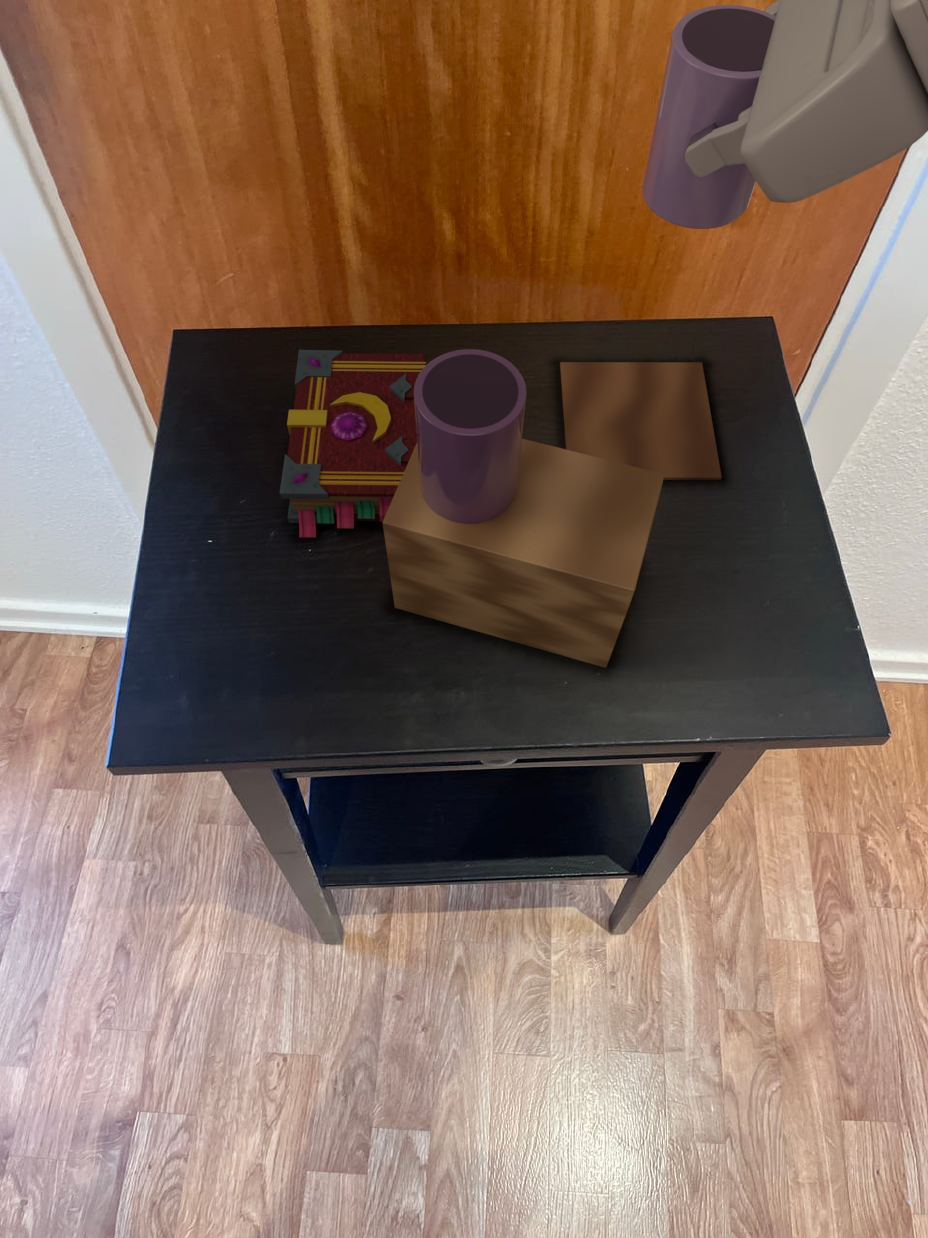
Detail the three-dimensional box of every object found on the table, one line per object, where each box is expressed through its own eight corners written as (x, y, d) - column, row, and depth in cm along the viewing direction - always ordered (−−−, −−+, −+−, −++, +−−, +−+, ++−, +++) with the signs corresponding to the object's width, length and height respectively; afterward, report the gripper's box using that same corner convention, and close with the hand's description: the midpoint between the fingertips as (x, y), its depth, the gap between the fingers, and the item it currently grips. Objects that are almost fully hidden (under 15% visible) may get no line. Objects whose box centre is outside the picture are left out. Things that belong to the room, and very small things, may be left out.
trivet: (701, 365, 79) (702, 361, 79) (720, 480, 73) (721, 477, 73) (559, 364, 79) (560, 361, 79) (567, 480, 73) (568, 477, 73)
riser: (633, 564, 69) (665, 473, 59) (606, 668, 65) (634, 591, 54) (433, 511, 71) (428, 414, 61) (394, 608, 67) (382, 522, 57)
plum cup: (537, 483, 58) (550, 390, 50) (469, 541, 56) (470, 454, 48) (468, 428, 60) (469, 331, 52) (399, 483, 58) (390, 389, 50)
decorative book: (431, 387, 78) (429, 346, 73) (425, 538, 70) (423, 503, 66) (305, 386, 78) (296, 345, 73) (286, 537, 70) (275, 501, 66)
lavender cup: (771, 193, 53) (825, 38, 45) (703, 245, 51) (747, 92, 43) (687, 144, 55) (725, -12, 47) (619, 192, 53) (646, 37, 45)
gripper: (959, -222, 42) (709, -29, 52) (930, 5, 33) (635, 185, 43) (1004, -98, 45) (760, 61, 55) (988, 138, 36) (702, 277, 46)
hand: (705, 117), depth 49 cm, fingers closed on lavender cup, 6 cm apart
